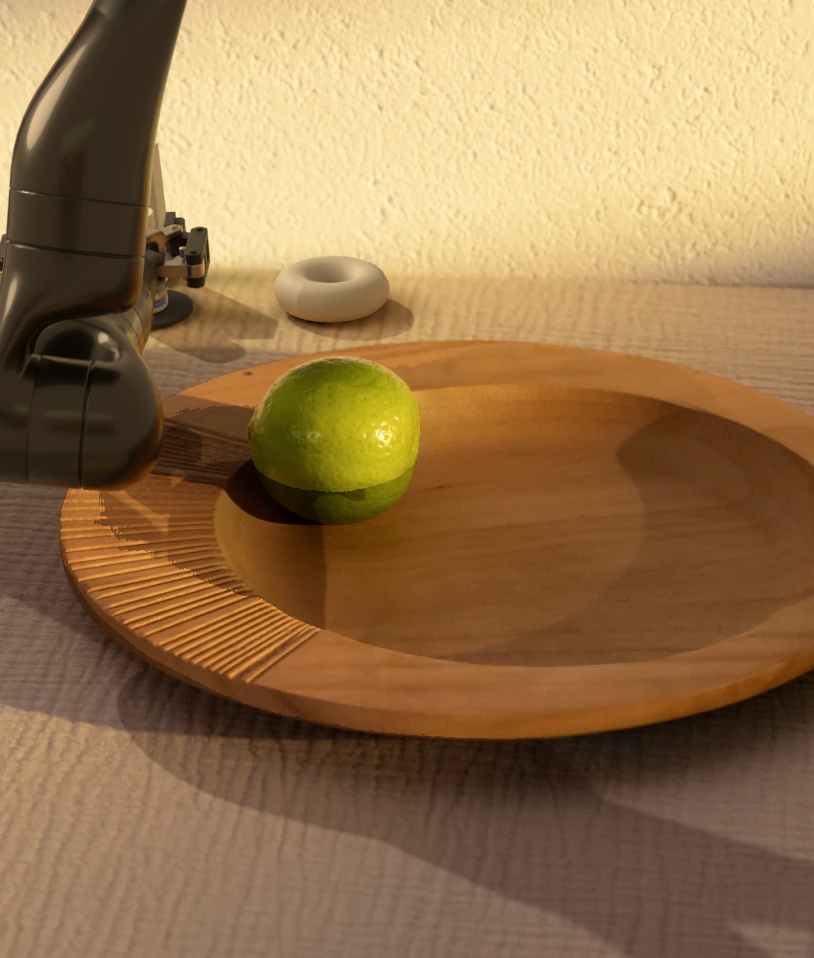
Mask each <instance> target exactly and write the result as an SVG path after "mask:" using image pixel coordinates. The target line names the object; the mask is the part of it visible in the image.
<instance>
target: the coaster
mask: <svg viewBox="0 0 814 958" xmlns="http://www.w3.org/2000/svg"><path fill="white" fill-rule="evenodd" d="M167 294H168V305H167V307H166V308H165V309H164V310H162V311H160V312H157V313H154V314H153V316H154V320H153V326H152V328H151V330H150V331H152V330H157V329H161V328H166V327H170V326H173V325H175V324H178V323H180V322H183V321H184V320H185V319H187V318H189V316H190V315H191V314H192V312H193V310H194V304H193V300H192V299H191V298H190V297H189V296H188V295H187V294H185V293H182V292H181V291H178V290H173V289H169V288H167Z"/></svg>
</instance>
